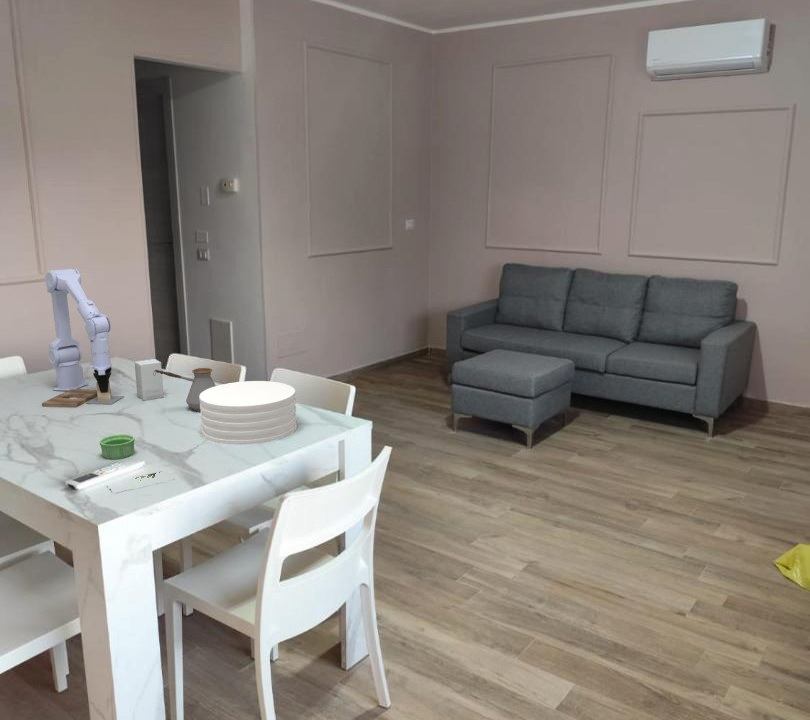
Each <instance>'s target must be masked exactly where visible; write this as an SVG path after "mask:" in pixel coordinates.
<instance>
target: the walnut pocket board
mask: <svg viewBox="0 0 810 720" xmlns="http://www.w3.org/2000/svg"><path fill="white" fill-rule="evenodd" d="M96 397H98V395H97V389H91V388H90V389H86V388H84V389H83V388H78V389H70V390H68V391H63V392H62V393H59V394H58V395H56V396H53V397H52V398H49V399H47V400H46V401H43V402H41V407H42V406H43V407H46V408H48V407H49V408H78V407H80V406H82V405H84V404H86V402H88V401H90V400H92V399H94V398H96ZM43 407H42V408H43Z"/></svg>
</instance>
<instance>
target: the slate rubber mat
mask: <svg viewBox="0 0 810 720" xmlns="http://www.w3.org/2000/svg"><path fill="white" fill-rule="evenodd" d="M124 398H125V396H124V395H111V400H109V401H99V402H98V396H97V397H95V398H93V399H91V400H89V401H88V402H86V403H85V405H113V404H115V403H117V402H118V401H120V400H122V399H124Z"/></svg>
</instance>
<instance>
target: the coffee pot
mask: <svg viewBox="0 0 810 720" xmlns="http://www.w3.org/2000/svg"><path fill="white" fill-rule="evenodd" d="M154 372H157V373H161V374H162V375H165V376H167V377H171V378H176V379H182V380H185V381H189V382H192V383H191V385H190V389H189V391H188V394H187V397H186V400H185V401H186V404H187V406H188V407H189V408H191V409H192V410H194V411H195V412H196V411H197V412H201V410H200V400H199V395H200V394H201V393H202V392H203V391H205V390H207V389H209V388H211V387H215V386H217V385H216V384H215V382H214V380H213V378H212V376H211V375H212V374H211V373H212V372H213V369H212V368H211V367H210V368H209V367H198V368H195V369H193V370H192V371H191V372H192V373H193V376H194V378H191V377H187V376H183V375H179V374H177V373H173V372H169V371H164V370H162V371H159V370H155V371H154ZM154 372H153V376H155V375H156V373H155V375H154Z"/></svg>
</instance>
